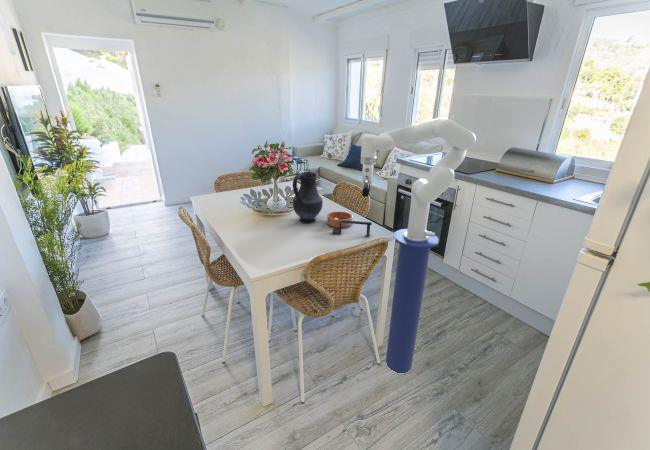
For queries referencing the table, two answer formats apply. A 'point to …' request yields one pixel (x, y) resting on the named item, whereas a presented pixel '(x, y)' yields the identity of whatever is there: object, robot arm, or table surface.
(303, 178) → the pitcher
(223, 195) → the table surface
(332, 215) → the bowl
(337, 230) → the black lever handle
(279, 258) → the table surface
